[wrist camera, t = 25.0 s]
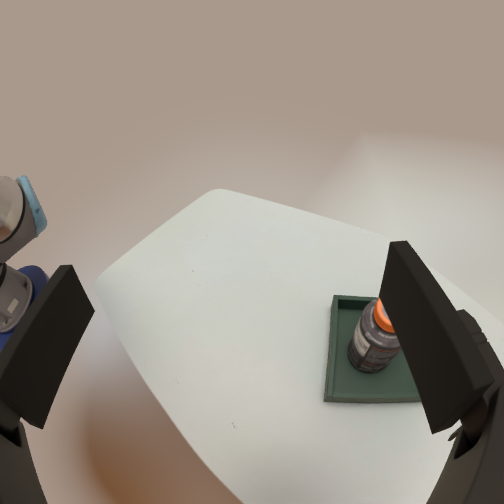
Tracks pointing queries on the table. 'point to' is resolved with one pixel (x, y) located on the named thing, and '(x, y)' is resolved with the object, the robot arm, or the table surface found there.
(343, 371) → the tray
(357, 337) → the pill bottle
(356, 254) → the table surface
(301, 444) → the table surface
